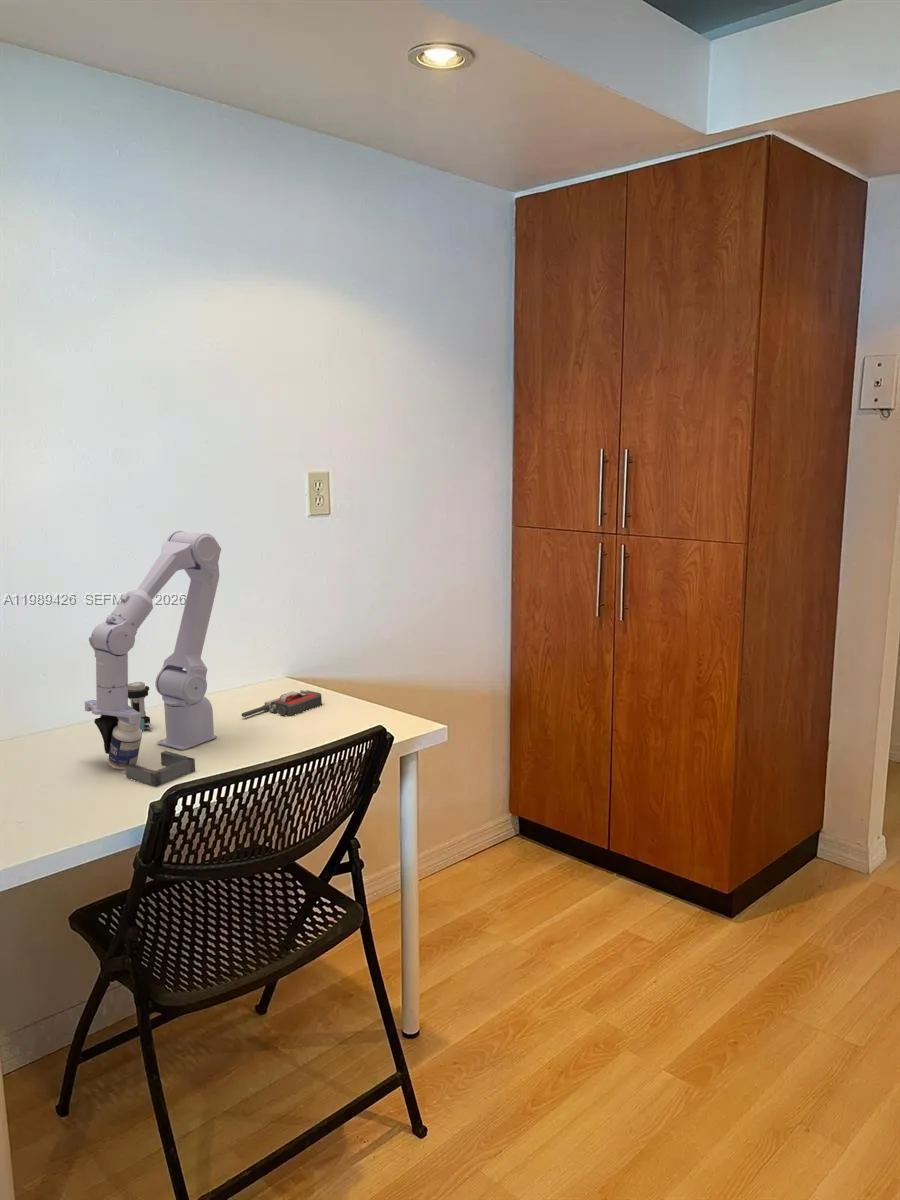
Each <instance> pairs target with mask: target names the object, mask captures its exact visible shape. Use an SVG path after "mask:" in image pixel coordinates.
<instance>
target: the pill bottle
mask: <svg viewBox="0 0 900 1200" xmlns="http://www.w3.org/2000/svg"><path fill="white" fill-rule="evenodd" d="M139 727H140V723H137V724H133V725H132V724H129V722H128V720H126V719H124V717H120V718H119V721H118V725H117V726H116V727H115V728H114V729H113V733H112V739H111V745H110V751H109V754H108V758H107V763H108V764H109V766H110V767H112V768H114V769H117V770H122V771H123V770H125V771H126V765H128V764H134V765H137V763H138V759H139V754H140V748H141V747H140V746H141V742H142V738H143V737H142V736H143V731H141V729H140V728H139Z"/></svg>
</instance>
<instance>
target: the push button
mask: <svg viewBox="0 0 900 1200" xmlns="http://www.w3.org/2000/svg"><path fill="white" fill-rule="evenodd" d="M149 691H150V687H149V686H148V685H146V683H145V682H143V681H138V682H137V681H136V682H131V683H128V700H130V707H131V708H133V709H134V710H135V711H137V712H140V713H141V723H140V727H139V728H140V729H141V730H144V731H146V730H145V729H147V730H153V727H151V726H152V725H153V724H152V723H151V718H150V716H147V715H146V714H147V713H146V710H145V709H146V708H145V706H146V705H145V698H146V697H148V696H149Z"/></svg>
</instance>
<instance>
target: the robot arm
mask: <svg viewBox="0 0 900 1200" xmlns="http://www.w3.org/2000/svg"><path fill="white" fill-rule="evenodd" d="M160 550H161V551H160V555H159V556H158V557H157V559H156V560H155V562H154V563H153V565H152V566H151V568H150V569H149V570H148V572H147V574H146V576H145V577H144V579H143V580H142V581H141V583H140V584H139V586H138V588H137V589H136V590H130V591H127V592H126V593H123V594H122V595H121V597H120V598H119V600H120V602H119V603H118V604H117V606H116V607H115V608H114V609H113V611H112V612H111V613H110V614H109V615H107V617H106V618H105V619H106V620H105V621H104V622H101V623H98V624H97V625H96V626H95V627H94V629H93V630H92V632H91V634H90V635H91V636H90V637H88V642H89V645H90V647H91V648H92V649H93V652H94V658H95V672H96V673H95V677H96V678H95V679H96V680H95V682H96V683H95V684H96V687H95V688H96V689H95V690H96V692H95V693H96V694H95V695H96V696H95V697H96V699H91V700H85V701H84V711H85V712H89V713H90V712H91V713H92V714H93V715H96V716H99V717H97V718H95V719H94V721H93V722H94V724H95V726H96V727H97V728H98V731H99V732H100V734H101V737H102V741H103V747H104V753H105V754H107V755H109V751H110V745H111V739H112V733H113V729H114V728H115V727H116V726H117V725H118V721H119V718H120V717H124V719H126V720H128V722H129V724H132V725H133V724H137V723H141V713H140V712H137V711H135V710H134V709H133V708H131V705H129V698H128V684H129V663H128V662H129V652H130V651H131V649H132V648H134V646H135V641H136V635H137V633H138V630H139V628H140V627H141V626H142V624H143V623H144V621H145V620H146V619H147V618H148V616H149V615H150V613H151V612H152V611H153V609H154V604H153V599H154V598H155V597H156V596H157V595H158V594H159V593H160V591H161V590H162V588H163V587H165V586H166V584H167V583H168V581H170V580H171V578H172V577H173V576H174V575H175V574H176V572H177V571H181V570H184V571H185V573H186V574H187V576H188V578H189V579H190V582H189V587H188V591H187V595H186V598H185V604H184V608H183V612H182V616H181V620H180V625H179V630H178V633H177V638H176V642H175V645H174V649H173V653H172V654H171V655H169V656H168V657H167V658H165V659H164V660H163V664H162V668H161V669H160V670H159V672H158V673H157V676H156V678H155V682H154V683H155V690H156V691H157V693H158V694H159V695H160V696H161V697H162V698H161V699H162V701H163V706H164V722H165V738H162V739H159V740H157V741H156V743H157V744H158V745H163V746H166V747H169V748H174V749H177V750H180V751H185V750H187V749H190V748H192V747H195V746H197V745H200V744H203V743H206V742H208V741H211V740H212V741H213V740H214V739H216V738H217V737H218V736H217V734H215V731H214V729H215V728H214V713H213V712H214V711H213V709H214V708H213V706H212V705H213V704H212V703H211V701H210V699H208V698H207V697H206V696H205V695H206V693H207V689H208V682H207V675H208V668H207V666H206V664H205V663H204V662H203V660H202V658H201V657H202V655H203V654H202V653H203V650H204V649H203V648H204V644H205V642H206V641H205V640H206V637H207V632H208V627H209V622H210V619H211V613H212V610H213V605H214V602H215V598H216V593H217V589H218V584H219V580H220V567H219V566H220V565H219V564H220V563H219V560H220V556H221V552H222V547H221V545H220V543H218V541H217V539H216V538H215V537H214V535H212V534H210V533H206V532H205V533H204V532H203V533H200V532H199V533H197V532H187V531H182V530H177V531H173V532H172V533H171V534H169V536H168V537H167V540H165V542H164V543H163V544H162V545H161V549H160Z"/></svg>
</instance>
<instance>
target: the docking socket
mask: <svg viewBox="0 0 900 1200" xmlns="http://www.w3.org/2000/svg"><path fill="white" fill-rule="evenodd" d="M160 764H161V766H165V767H162V768H159V769H157V770H154V769H151V768H147V767H143V766H140V765H137V764H136V765H134V764H128V765H126V770H125V775H126V776H125V778H126V779H127V778H128V779H127V780H131V779H132V780H131V781H134V780H135V782H137V781H138V783H141V784H144V785H148V786H150V787H151V786H152V787H155V788H157V787H160V786H162V785H165V784H166V783H169V782H172V781H174V780H177V779H178V778H179V779H180V778H181V777H184V776H187V775H190V774H192V773H194V772H196V759H195V758H193V757H190V756H185V755H183V754H179V753H175V752H171V751H168V750H163V751H162V752H160Z"/></svg>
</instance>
